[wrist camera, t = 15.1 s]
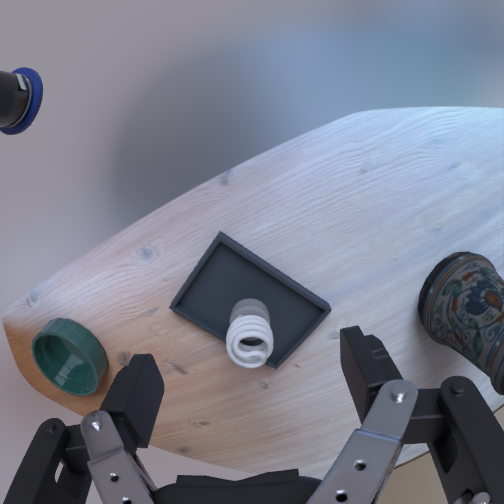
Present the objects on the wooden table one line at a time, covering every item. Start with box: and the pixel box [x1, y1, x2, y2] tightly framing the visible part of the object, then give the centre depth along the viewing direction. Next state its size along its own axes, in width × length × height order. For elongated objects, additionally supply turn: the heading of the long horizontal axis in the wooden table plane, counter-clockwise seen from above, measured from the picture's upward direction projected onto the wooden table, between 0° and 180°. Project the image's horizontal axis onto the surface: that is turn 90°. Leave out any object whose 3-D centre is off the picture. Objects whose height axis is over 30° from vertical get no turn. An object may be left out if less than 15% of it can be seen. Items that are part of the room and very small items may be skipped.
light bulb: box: [226, 298, 273, 368], centre depth 39 cm, size 6×6×12 cm
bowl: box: [32, 318, 107, 396], centre depth 46 cm, size 14×14×5 cm
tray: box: [169, 231, 331, 369], centre depth 44 cm, size 19×13×2 cm
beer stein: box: [418, 252, 504, 395], centre depth 33 cm, size 16×19×25 cm
